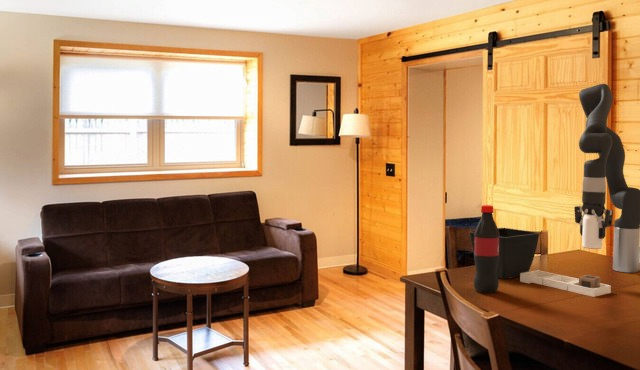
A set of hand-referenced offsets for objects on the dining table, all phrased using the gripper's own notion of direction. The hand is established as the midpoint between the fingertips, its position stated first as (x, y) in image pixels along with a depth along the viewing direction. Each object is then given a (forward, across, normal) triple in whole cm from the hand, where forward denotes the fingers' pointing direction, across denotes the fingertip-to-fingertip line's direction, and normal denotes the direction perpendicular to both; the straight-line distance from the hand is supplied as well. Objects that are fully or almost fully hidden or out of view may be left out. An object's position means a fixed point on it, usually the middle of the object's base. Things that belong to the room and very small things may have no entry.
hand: (592, 237), depth 217 cm
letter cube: (+17, +6, -10) cm, 21 cm away
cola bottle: (+18, -15, -36) cm, 43 cm away
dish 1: (+18, -14, -10) cm, 25 cm away
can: (+4, 0, 0) cm, 4 cm away
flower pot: (+18, -30, -12) cm, 37 cm away
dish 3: (+18, +6, -10) cm, 21 cm away
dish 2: (+18, -4, -10) cm, 21 cm away
